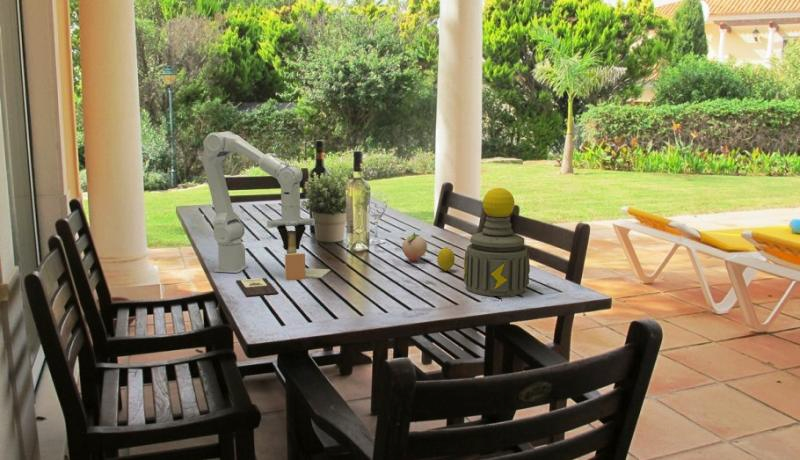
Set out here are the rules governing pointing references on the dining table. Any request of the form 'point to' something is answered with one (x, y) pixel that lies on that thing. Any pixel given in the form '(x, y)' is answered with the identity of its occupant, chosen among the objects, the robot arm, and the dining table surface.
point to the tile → (295, 266)
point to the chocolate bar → (256, 287)
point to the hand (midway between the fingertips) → (291, 249)
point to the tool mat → (316, 272)
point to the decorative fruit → (414, 247)
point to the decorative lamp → (497, 251)
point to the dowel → (291, 242)
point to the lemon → (445, 258)
